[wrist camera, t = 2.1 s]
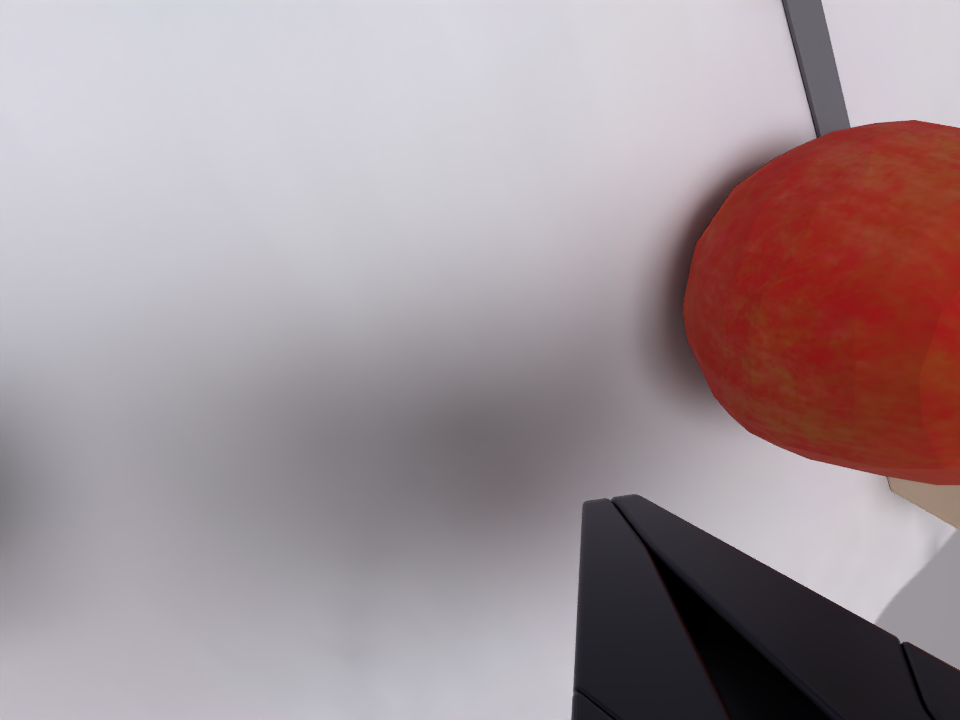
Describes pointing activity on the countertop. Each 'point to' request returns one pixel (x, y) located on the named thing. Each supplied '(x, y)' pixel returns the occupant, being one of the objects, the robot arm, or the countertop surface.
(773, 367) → the apple
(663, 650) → the robot arm
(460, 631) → the countertop surface
